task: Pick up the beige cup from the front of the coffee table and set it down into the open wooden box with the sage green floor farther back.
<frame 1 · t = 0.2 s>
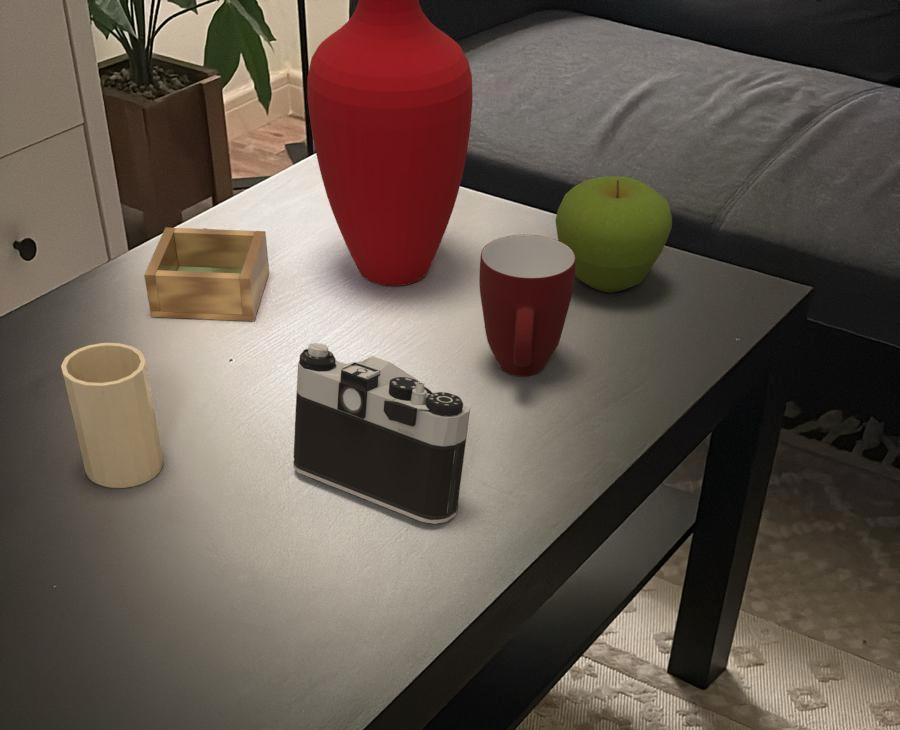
camera: (396, 472, 104), on the table
beige cup: (124, 465, 103), on the table
open wooden box: (211, 294, 123), on the table
mug: (522, 374, 114), on the table
apple: (606, 287, 125), on the table
vase: (393, 273, 126), on the table
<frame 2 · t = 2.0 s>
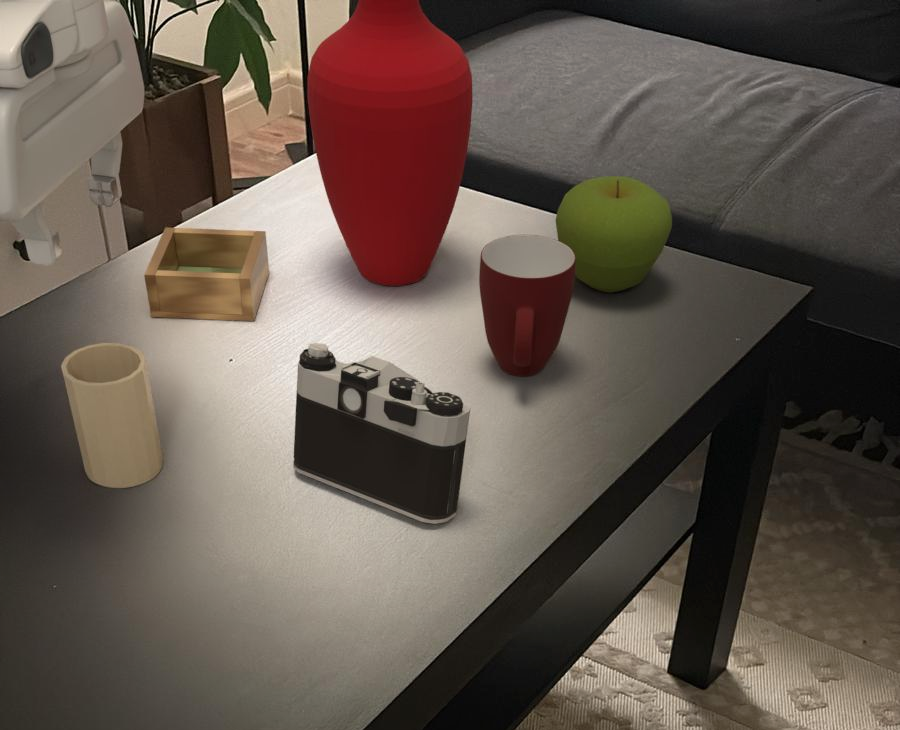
hand: (78, 230, 89), 19 cm above the table, tool pointing down, fingers open, 8 cm apart
nothing on the table moved.
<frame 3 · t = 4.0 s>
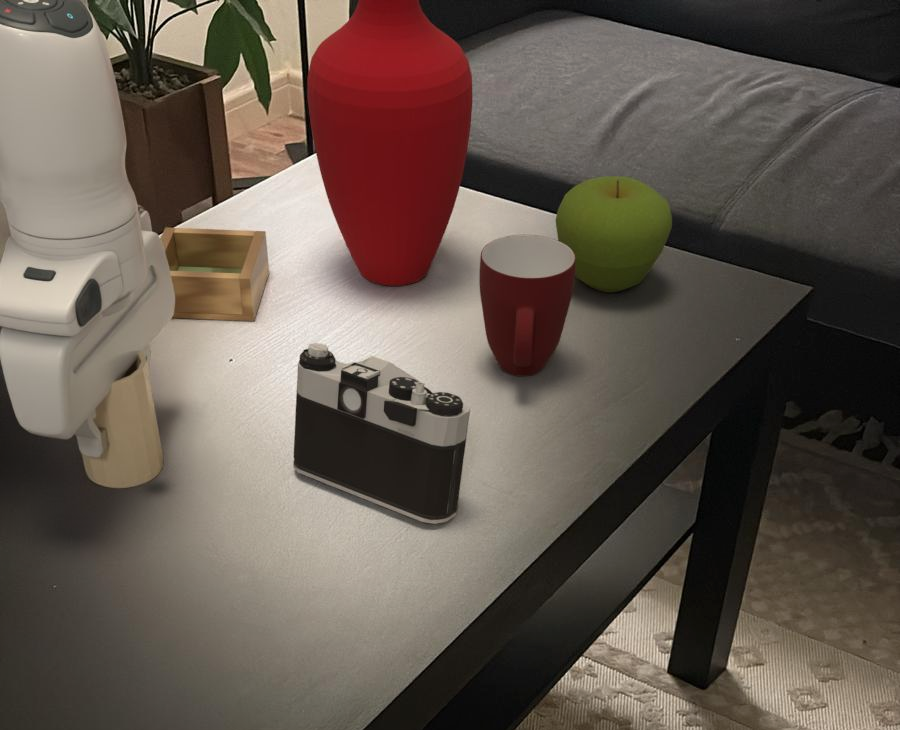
hand: (116, 425, 101), 4 cm above the table, tool pointing down, fingers closed on beige cup, 6 cm apart
beige cup: (124, 466, 103), on the table, touching gripper
everything else where it was.
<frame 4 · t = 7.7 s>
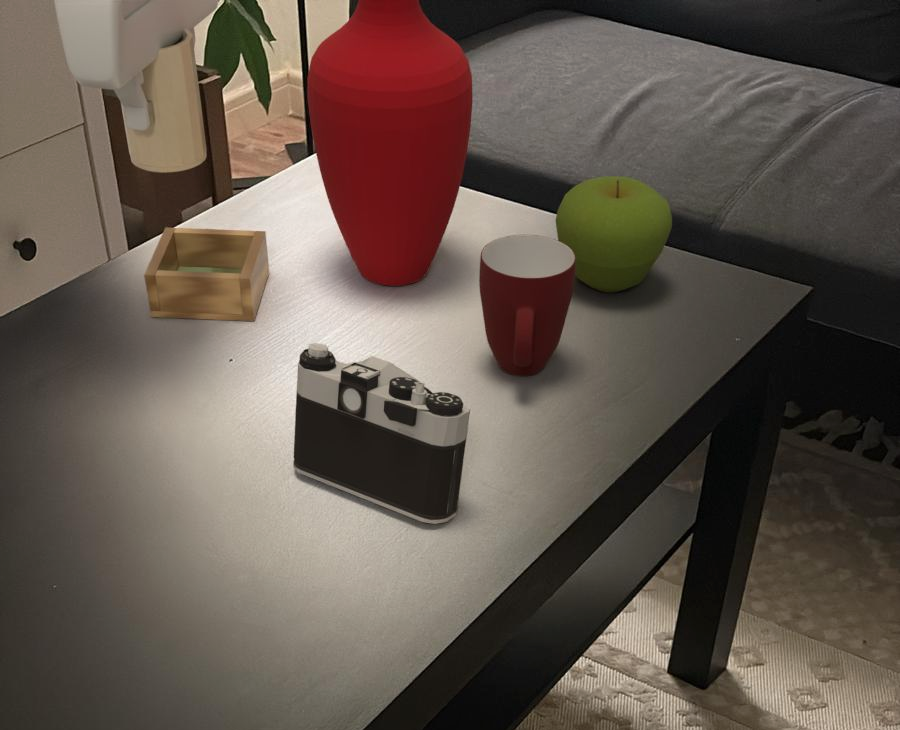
hand: (161, 109, 103), 19 cm above the table, tool pointing down, fingers closed on beige cup, 6 cm apart
beige cup: (168, 156, 106), point 16 cm above the table, touching gripper
everything else where it was.
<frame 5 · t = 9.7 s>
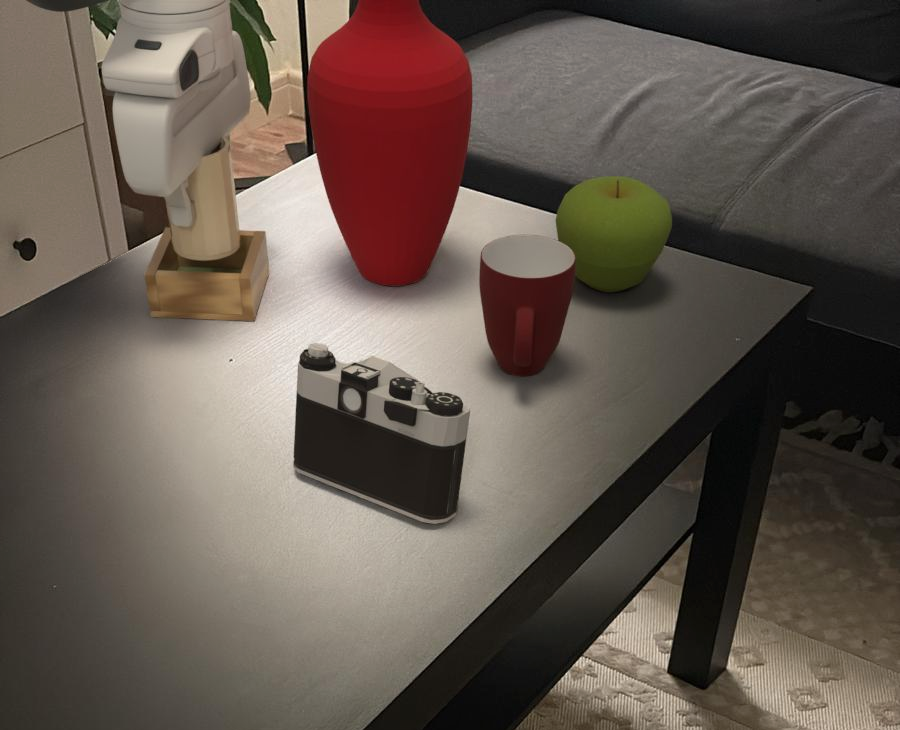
hand: (201, 205, 116), 8 cm above the table, tool pointing down, fingers closed on beige cup, 6 cm apart
beige cup: (206, 245, 119), point 5 cm above the table, touching gripper
everything else where it was.
when the fingers open (4 cm above the table, at t = 11.4 s): beige cup stays where it is, resting on open wooden box.
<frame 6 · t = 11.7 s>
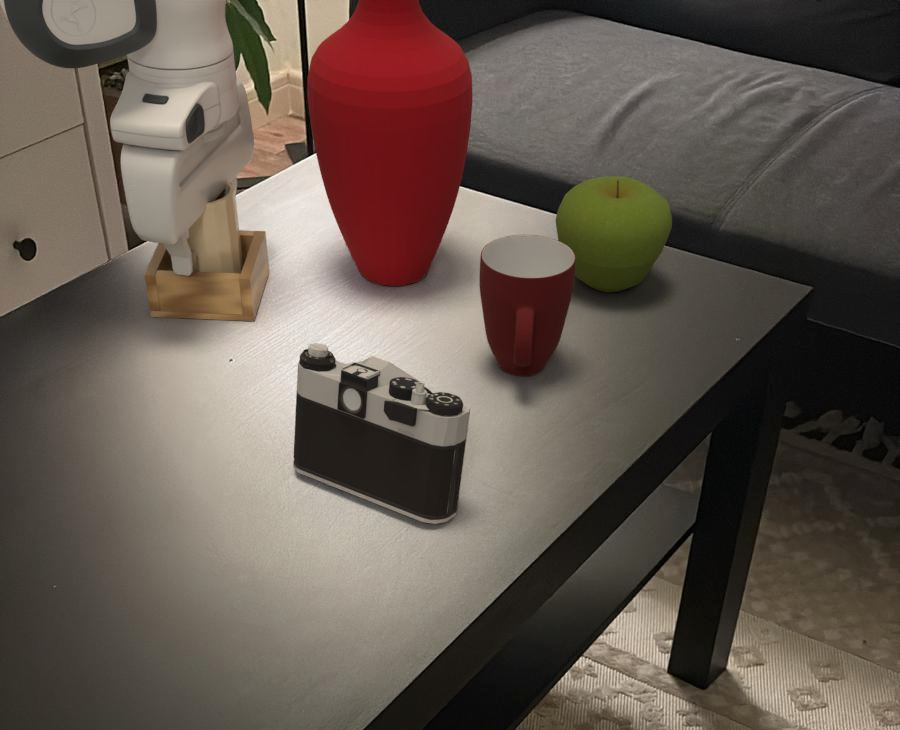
hand: (205, 248, 119), 4 cm above the table, tool pointing down, fingers open, 8 cm apart
beige cup: (211, 286, 122), point 1 cm above the table, touching open wooden box
everything else where it was.
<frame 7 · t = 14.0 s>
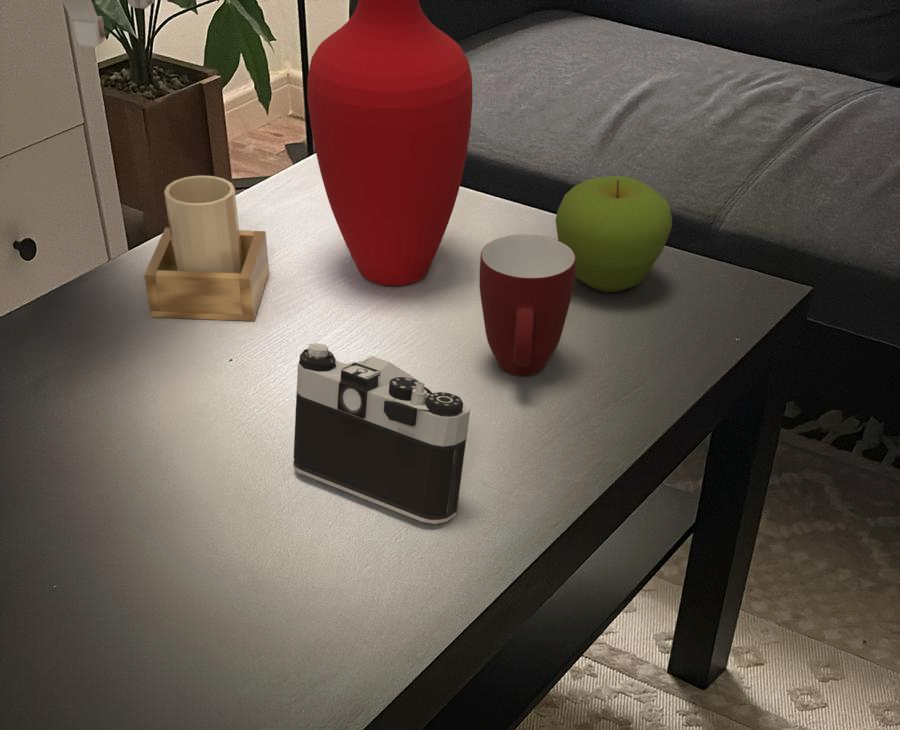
hand: (117, 24, 102), 24 cm above the table, tool pointing down, fingers open, 8 cm apart
nothing on the table moved.
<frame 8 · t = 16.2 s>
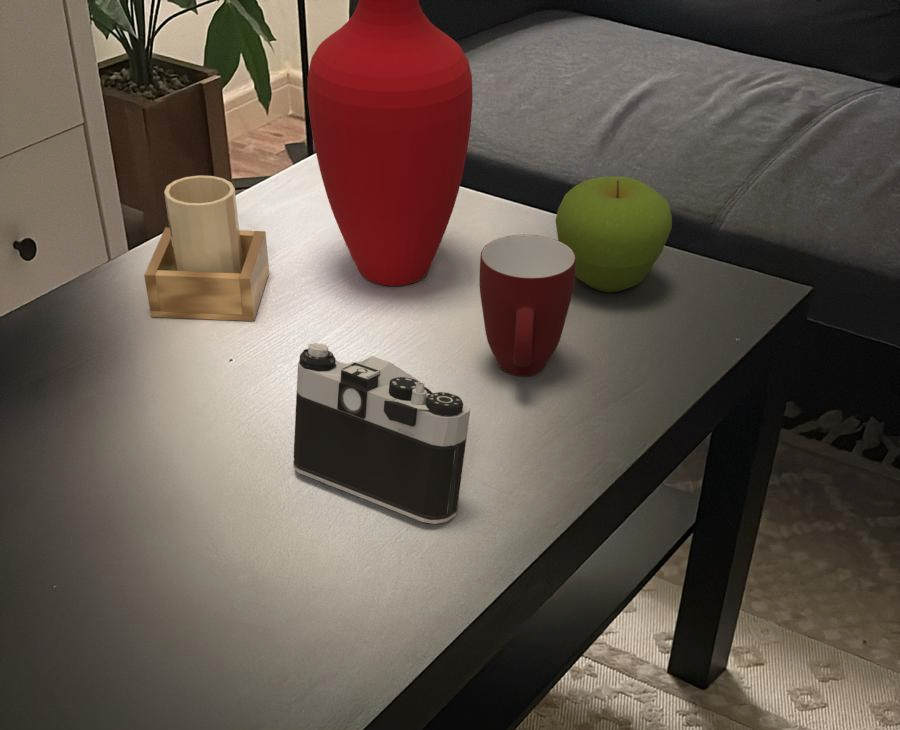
nothing on the table moved.
at the end: beige cup 0.1 cm off-centre in the open wooden box, point 0.8 cm above the open wooden box's base; beige cup tilted 0°; the gripper is holding nothing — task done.
